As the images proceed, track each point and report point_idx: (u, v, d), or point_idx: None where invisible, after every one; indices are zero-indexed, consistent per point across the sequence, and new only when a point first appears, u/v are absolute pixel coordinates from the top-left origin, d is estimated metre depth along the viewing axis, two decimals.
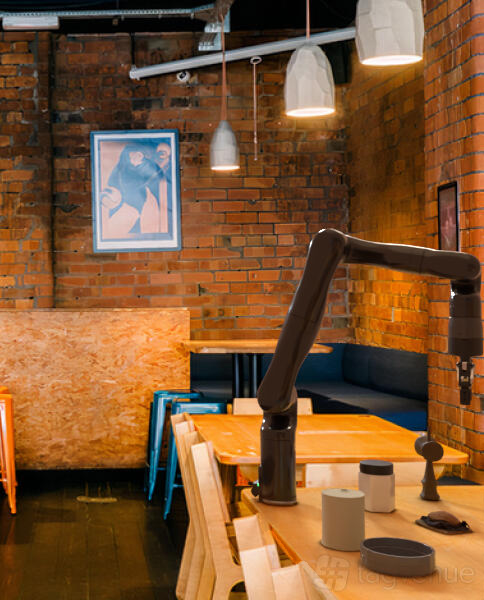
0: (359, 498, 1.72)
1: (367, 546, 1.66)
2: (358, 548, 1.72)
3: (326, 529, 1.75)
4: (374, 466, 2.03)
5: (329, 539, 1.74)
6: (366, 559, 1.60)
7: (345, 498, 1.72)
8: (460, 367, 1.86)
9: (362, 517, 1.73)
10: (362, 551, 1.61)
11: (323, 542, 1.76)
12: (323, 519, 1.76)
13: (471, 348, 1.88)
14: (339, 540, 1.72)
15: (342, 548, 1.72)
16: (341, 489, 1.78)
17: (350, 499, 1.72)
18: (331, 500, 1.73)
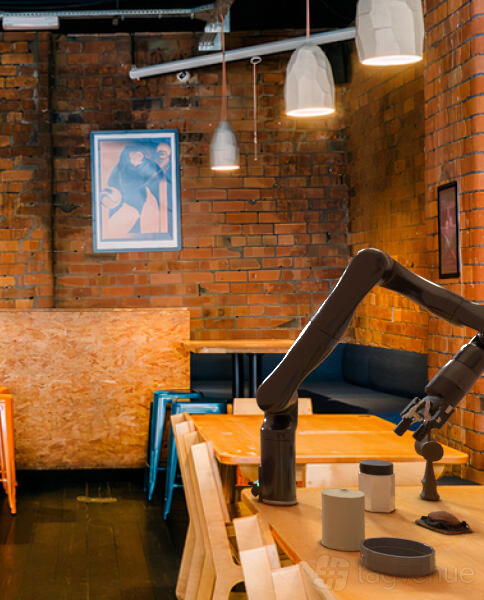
0: (359, 498, 1.72)
1: (367, 546, 1.66)
2: (358, 548, 1.72)
3: (326, 529, 1.75)
4: (374, 466, 2.03)
5: (329, 539, 1.74)
6: (366, 559, 1.60)
7: (345, 498, 1.72)
8: (445, 407, 1.76)
9: (362, 517, 1.73)
10: (362, 551, 1.61)
11: (323, 542, 1.76)
12: (323, 519, 1.76)
13: (456, 398, 1.80)
14: (339, 540, 1.72)
15: (342, 548, 1.72)
16: (341, 489, 1.78)
17: (350, 499, 1.72)
18: (331, 500, 1.73)
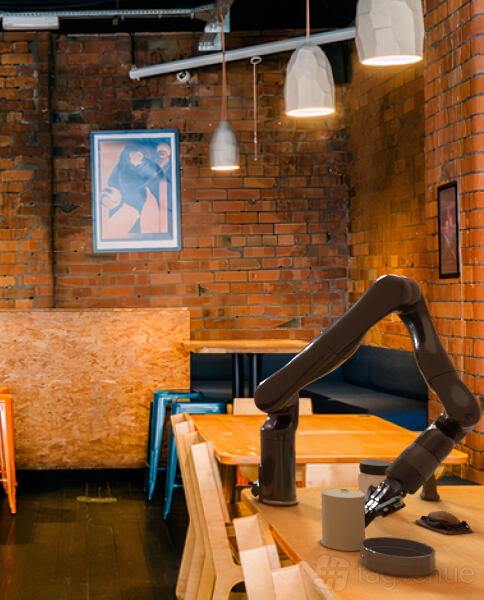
0: (359, 498, 1.72)
1: (367, 546, 1.66)
2: (358, 548, 1.72)
3: (326, 529, 1.75)
4: (374, 466, 2.03)
5: (329, 539, 1.74)
6: (366, 559, 1.60)
7: (345, 498, 1.72)
8: (393, 502, 1.71)
9: (362, 517, 1.73)
10: (362, 551, 1.61)
11: (323, 542, 1.76)
12: (323, 519, 1.76)
13: (416, 485, 1.74)
14: (339, 540, 1.72)
15: (342, 548, 1.72)
16: (341, 489, 1.78)
17: (350, 499, 1.72)
18: (331, 500, 1.73)
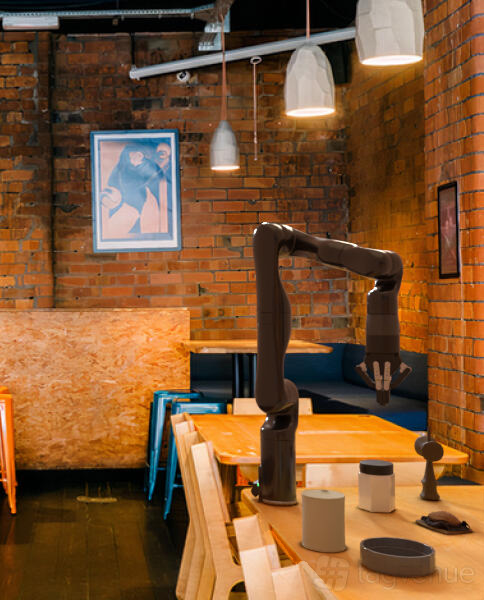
0: (339, 499, 1.71)
1: (367, 546, 1.66)
2: (338, 549, 1.71)
3: (306, 530, 1.74)
4: (374, 466, 2.03)
5: (309, 541, 1.73)
6: (366, 559, 1.60)
7: (325, 499, 1.71)
8: None
9: (342, 518, 1.72)
10: (362, 551, 1.61)
11: (303, 543, 1.75)
12: (303, 520, 1.75)
13: None
14: (319, 541, 1.71)
15: (322, 549, 1.71)
16: (321, 490, 1.77)
17: (330, 500, 1.71)
18: (311, 501, 1.73)
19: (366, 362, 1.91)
